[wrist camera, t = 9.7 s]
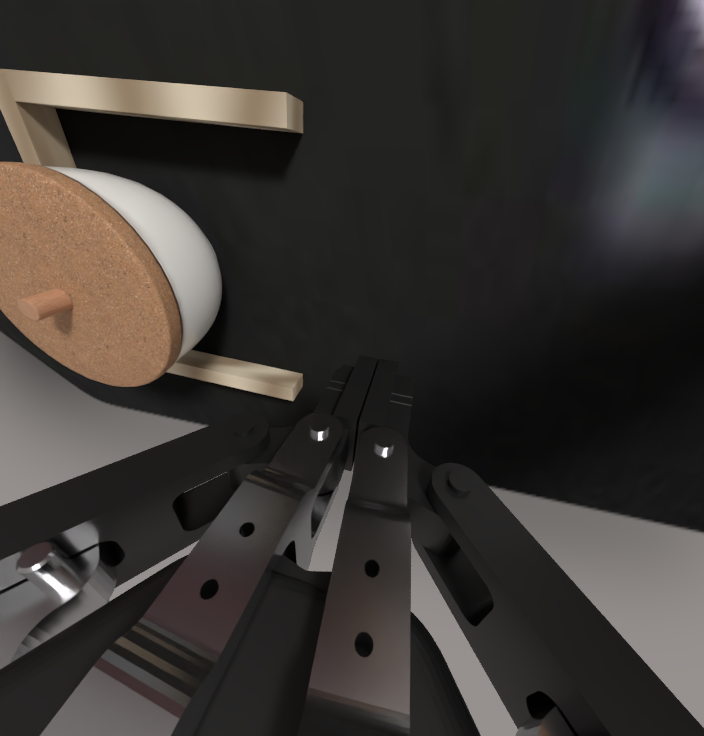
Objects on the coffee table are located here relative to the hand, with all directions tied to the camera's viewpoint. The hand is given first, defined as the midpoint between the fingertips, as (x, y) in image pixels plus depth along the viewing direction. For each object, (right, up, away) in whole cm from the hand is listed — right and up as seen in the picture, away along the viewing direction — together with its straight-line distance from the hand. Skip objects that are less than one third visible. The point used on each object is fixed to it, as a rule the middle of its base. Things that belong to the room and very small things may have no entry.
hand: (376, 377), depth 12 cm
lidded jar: (-13, +8, +9) cm, 18 cm away
